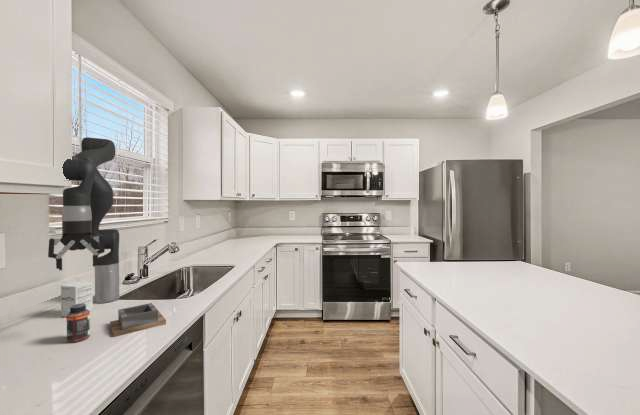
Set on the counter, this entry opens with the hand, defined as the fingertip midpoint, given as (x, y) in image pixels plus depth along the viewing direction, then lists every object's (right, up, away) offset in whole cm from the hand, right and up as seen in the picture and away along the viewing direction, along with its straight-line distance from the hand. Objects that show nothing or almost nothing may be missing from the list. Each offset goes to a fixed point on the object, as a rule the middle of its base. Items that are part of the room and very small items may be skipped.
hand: (77, 268), depth 96 cm
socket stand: (+13, -24, +11) cm, 29 cm away
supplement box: (-19, -24, +22) cm, 38 cm away
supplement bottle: (0, -24, 0) cm, 24 cm away
